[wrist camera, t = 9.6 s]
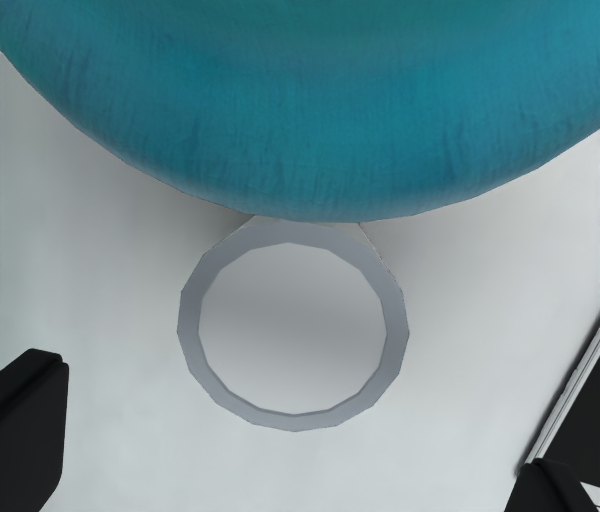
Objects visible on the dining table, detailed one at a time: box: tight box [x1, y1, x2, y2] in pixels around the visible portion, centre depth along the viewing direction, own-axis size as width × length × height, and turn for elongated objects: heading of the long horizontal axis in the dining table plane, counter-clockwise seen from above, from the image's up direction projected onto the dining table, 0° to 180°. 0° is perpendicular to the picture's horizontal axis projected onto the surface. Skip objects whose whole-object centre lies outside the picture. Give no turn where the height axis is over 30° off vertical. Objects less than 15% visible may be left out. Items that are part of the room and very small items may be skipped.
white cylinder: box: [177, 215, 409, 432], centre depth 18 cm, size 7×7×7 cm
